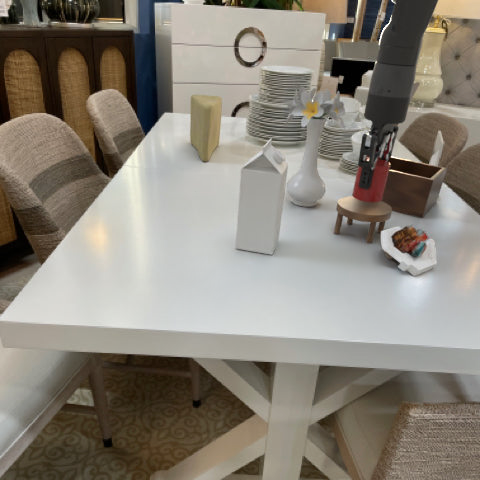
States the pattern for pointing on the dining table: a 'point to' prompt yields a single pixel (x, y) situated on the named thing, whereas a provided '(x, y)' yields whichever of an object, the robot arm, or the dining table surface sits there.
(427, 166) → the chest
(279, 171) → the milk carton
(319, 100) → the flower vase
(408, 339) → the dining table surface
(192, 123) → the cheese
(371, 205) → the stool
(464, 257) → the dining table surface
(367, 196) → the can
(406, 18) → the robot arm
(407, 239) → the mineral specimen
